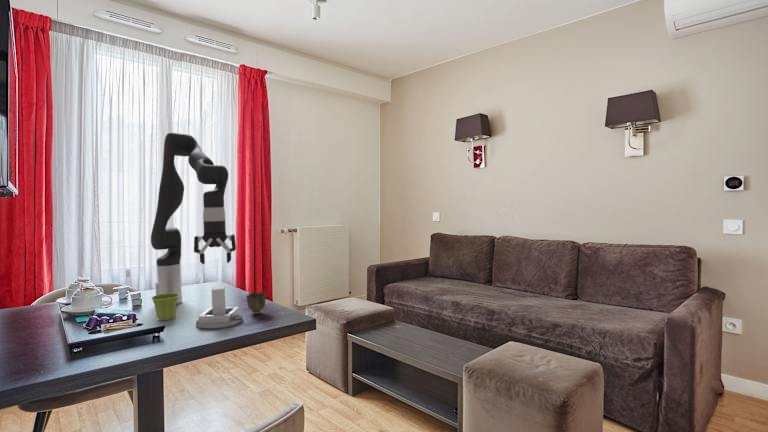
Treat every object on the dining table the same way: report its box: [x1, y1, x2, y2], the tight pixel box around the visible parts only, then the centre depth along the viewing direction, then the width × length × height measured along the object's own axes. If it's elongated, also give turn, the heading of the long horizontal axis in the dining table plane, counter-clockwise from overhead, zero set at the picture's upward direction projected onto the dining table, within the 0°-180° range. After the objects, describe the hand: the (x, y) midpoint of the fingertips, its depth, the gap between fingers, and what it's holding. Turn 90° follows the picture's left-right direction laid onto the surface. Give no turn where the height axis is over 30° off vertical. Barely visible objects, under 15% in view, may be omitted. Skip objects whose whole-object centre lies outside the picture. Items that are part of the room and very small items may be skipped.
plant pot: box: [151, 293, 179, 321], centre depth 160 cm, size 9×9×9 cm
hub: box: [195, 306, 244, 331], centre depth 153 cm, size 16×16×4 cm
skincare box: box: [211, 285, 226, 315], centre depth 153 cm, size 6×4×12 cm
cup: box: [245, 291, 267, 316], centre depth 163 cm, size 8×7×8 cm
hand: (215, 263), depth 153 cm, fingers open, 8 cm apart
